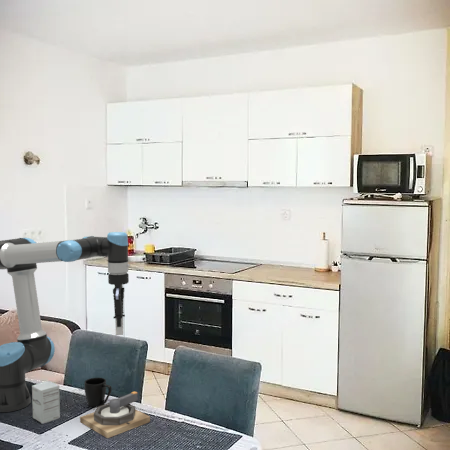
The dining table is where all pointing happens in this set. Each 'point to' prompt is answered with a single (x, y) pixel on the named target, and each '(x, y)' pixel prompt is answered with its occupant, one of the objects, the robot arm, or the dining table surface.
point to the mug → (96, 391)
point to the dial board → (114, 428)
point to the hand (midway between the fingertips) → (119, 334)
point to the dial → (119, 405)
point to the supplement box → (45, 402)
